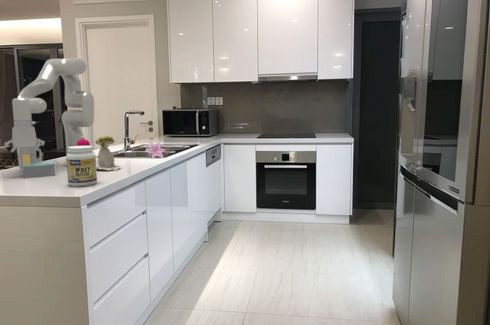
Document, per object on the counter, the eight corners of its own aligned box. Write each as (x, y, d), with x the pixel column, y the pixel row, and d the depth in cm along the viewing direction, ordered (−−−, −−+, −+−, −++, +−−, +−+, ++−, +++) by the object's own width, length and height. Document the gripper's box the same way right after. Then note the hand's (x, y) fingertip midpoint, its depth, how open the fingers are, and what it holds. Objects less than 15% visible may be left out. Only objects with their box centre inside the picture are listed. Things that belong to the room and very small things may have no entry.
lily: (142, 159, 258) (144, 147, 252) (148, 150, 268) (150, 138, 262) (160, 165, 258) (163, 153, 253) (165, 155, 268) (168, 144, 263)
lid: (54, 164, 204) (52, 151, 203) (54, 167, 196) (53, 153, 195) (24, 166, 198) (22, 152, 197) (23, 169, 190) (22, 155, 189)
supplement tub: (68, 188, 172) (65, 149, 170) (68, 182, 183) (65, 145, 181) (98, 185, 177) (95, 147, 174) (96, 180, 188) (94, 144, 185)
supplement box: (43, 169, 218) (40, 139, 215) (39, 172, 209) (36, 140, 206) (24, 170, 215) (21, 139, 213) (18, 173, 206) (15, 141, 204)
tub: (54, 173, 205) (53, 162, 204) (55, 176, 197) (54, 164, 196) (25, 176, 199) (24, 164, 198) (25, 179, 191) (23, 167, 190)
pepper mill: (77, 175, 200) (74, 135, 197) (92, 174, 203) (90, 135, 200) (77, 178, 194) (74, 137, 190) (93, 176, 196) (90, 136, 193)
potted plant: (108, 172, 209) (105, 137, 206) (90, 170, 215) (88, 136, 212) (124, 168, 219) (122, 135, 216) (107, 166, 225) (105, 134, 222)
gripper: (43, 123, 199) (45, 157, 201) (2, 124, 191) (6, 159, 193) (43, 124, 192) (46, 159, 195) (1, 125, 184) (5, 161, 187)
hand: (26, 159), depth 194 cm, fingers open, 9 cm apart
